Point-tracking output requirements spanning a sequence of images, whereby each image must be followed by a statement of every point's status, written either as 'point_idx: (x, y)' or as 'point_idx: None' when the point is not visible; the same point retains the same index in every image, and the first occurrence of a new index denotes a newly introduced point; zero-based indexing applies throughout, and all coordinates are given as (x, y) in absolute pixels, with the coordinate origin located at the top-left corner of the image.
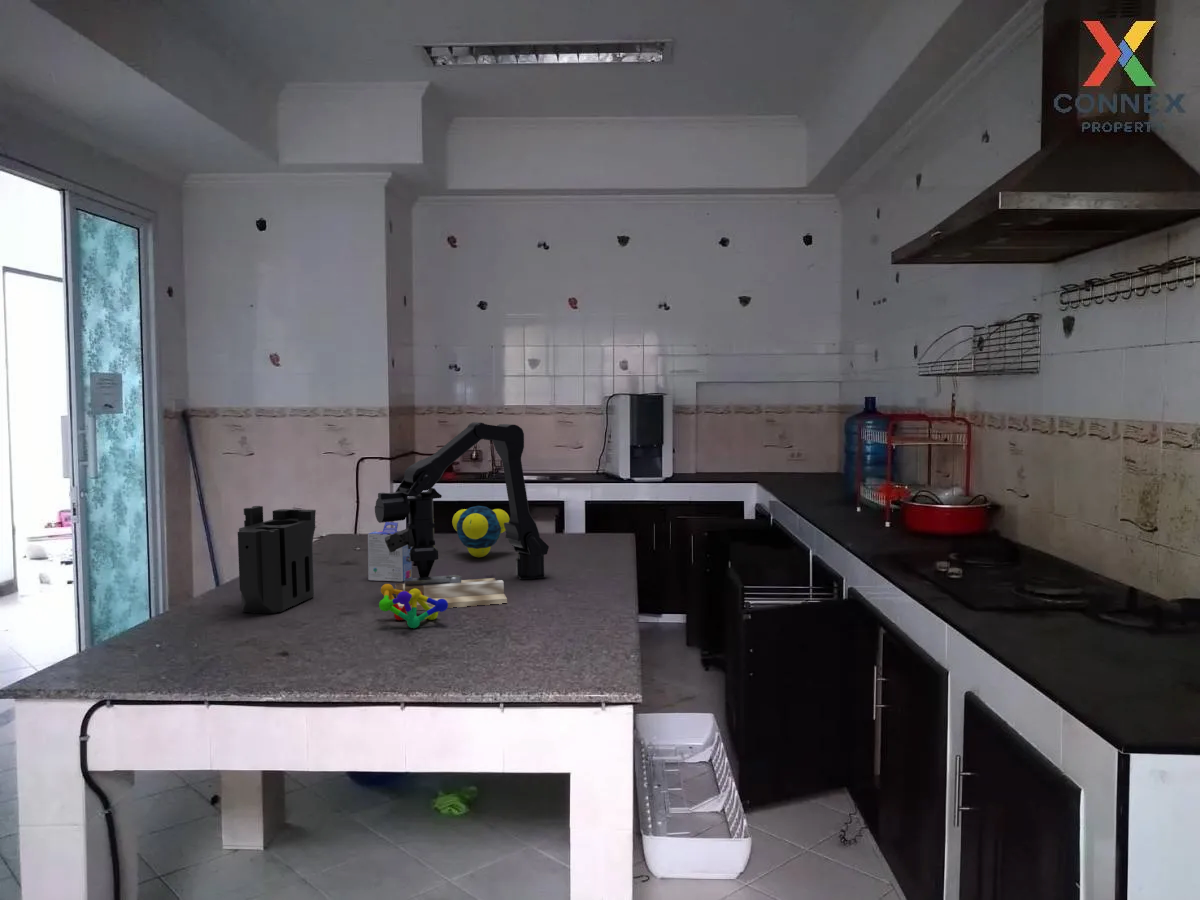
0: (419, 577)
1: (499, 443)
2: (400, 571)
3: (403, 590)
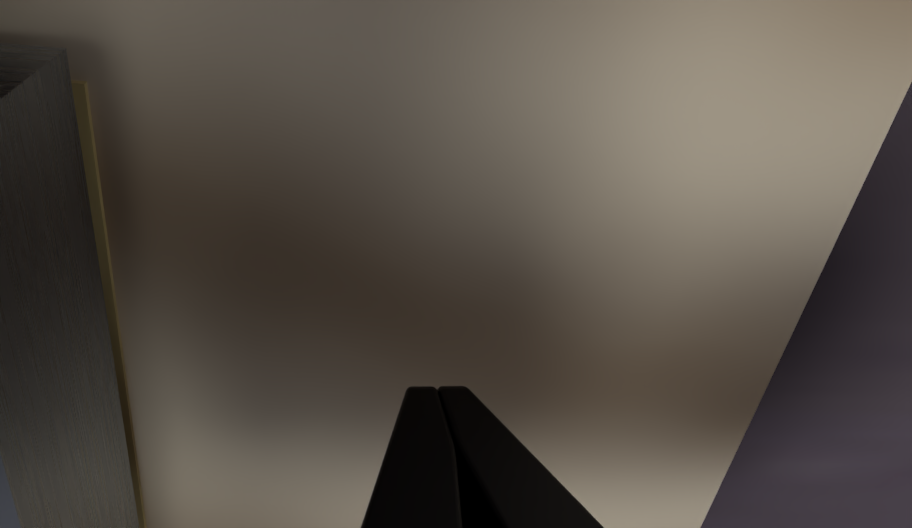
0: (14, 518)
1: None
2: None
3: (403, 44)
